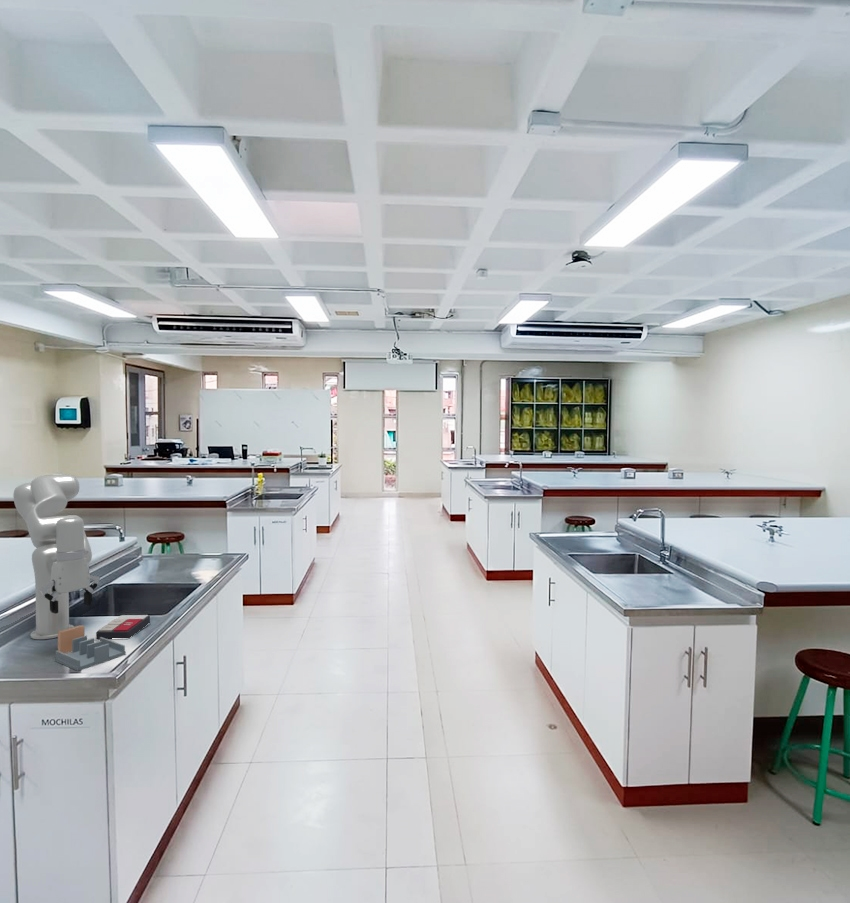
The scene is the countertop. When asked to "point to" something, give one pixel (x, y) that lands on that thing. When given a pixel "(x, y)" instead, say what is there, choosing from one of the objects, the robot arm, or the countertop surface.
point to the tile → (69, 638)
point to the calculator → (123, 626)
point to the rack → (89, 653)
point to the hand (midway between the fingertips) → (71, 608)
